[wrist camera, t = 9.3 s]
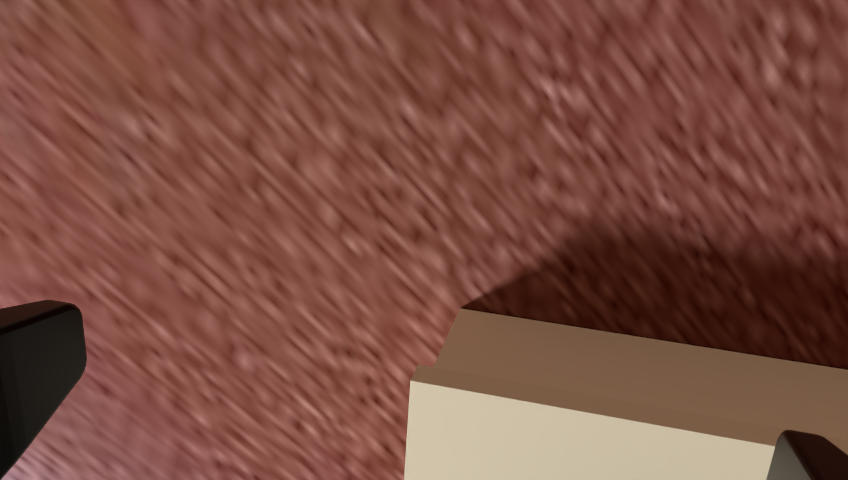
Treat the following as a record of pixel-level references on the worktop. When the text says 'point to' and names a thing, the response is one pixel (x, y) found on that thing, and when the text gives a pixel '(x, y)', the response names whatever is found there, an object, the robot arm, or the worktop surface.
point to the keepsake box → (607, 406)
